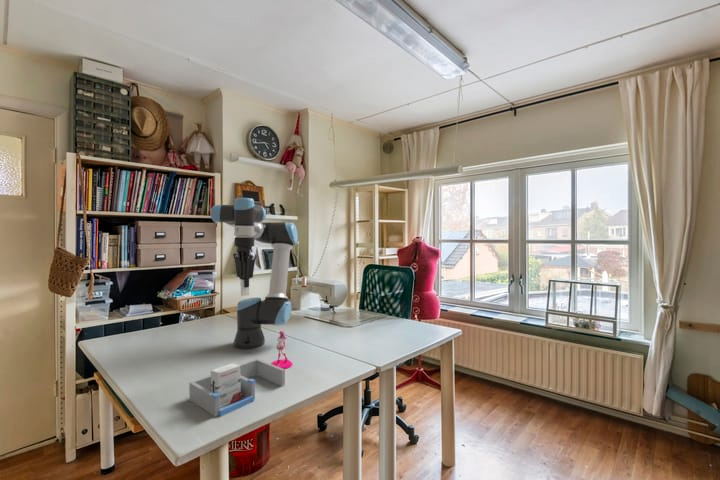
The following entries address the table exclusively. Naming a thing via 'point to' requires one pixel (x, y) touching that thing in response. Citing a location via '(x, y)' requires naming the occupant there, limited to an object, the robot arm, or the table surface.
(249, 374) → the divided organizer tray
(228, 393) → the ink box
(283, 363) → the figurine
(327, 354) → the table surface
